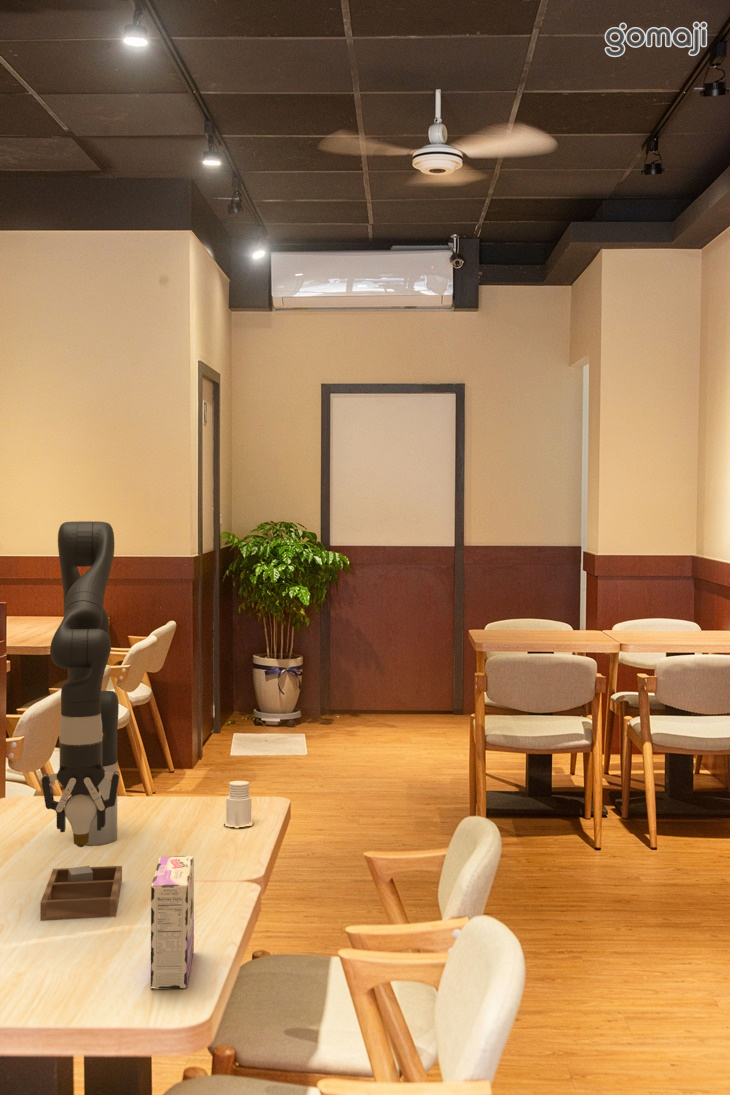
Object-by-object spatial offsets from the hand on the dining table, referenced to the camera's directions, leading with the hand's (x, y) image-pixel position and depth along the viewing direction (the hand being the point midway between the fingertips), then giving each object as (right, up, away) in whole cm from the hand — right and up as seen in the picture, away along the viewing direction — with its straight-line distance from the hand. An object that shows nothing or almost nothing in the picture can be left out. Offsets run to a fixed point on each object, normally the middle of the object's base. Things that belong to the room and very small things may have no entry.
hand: (81, 829), depth 194 cm
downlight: (+22, -14, +56) cm, 62 cm away
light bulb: (0, -3, 0) cm, 3 cm away
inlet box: (-1, -15, +4) cm, 16 cm away
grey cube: (-3, -14, +9) cm, 17 cm away
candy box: (+21, -16, -24) cm, 36 cm away
